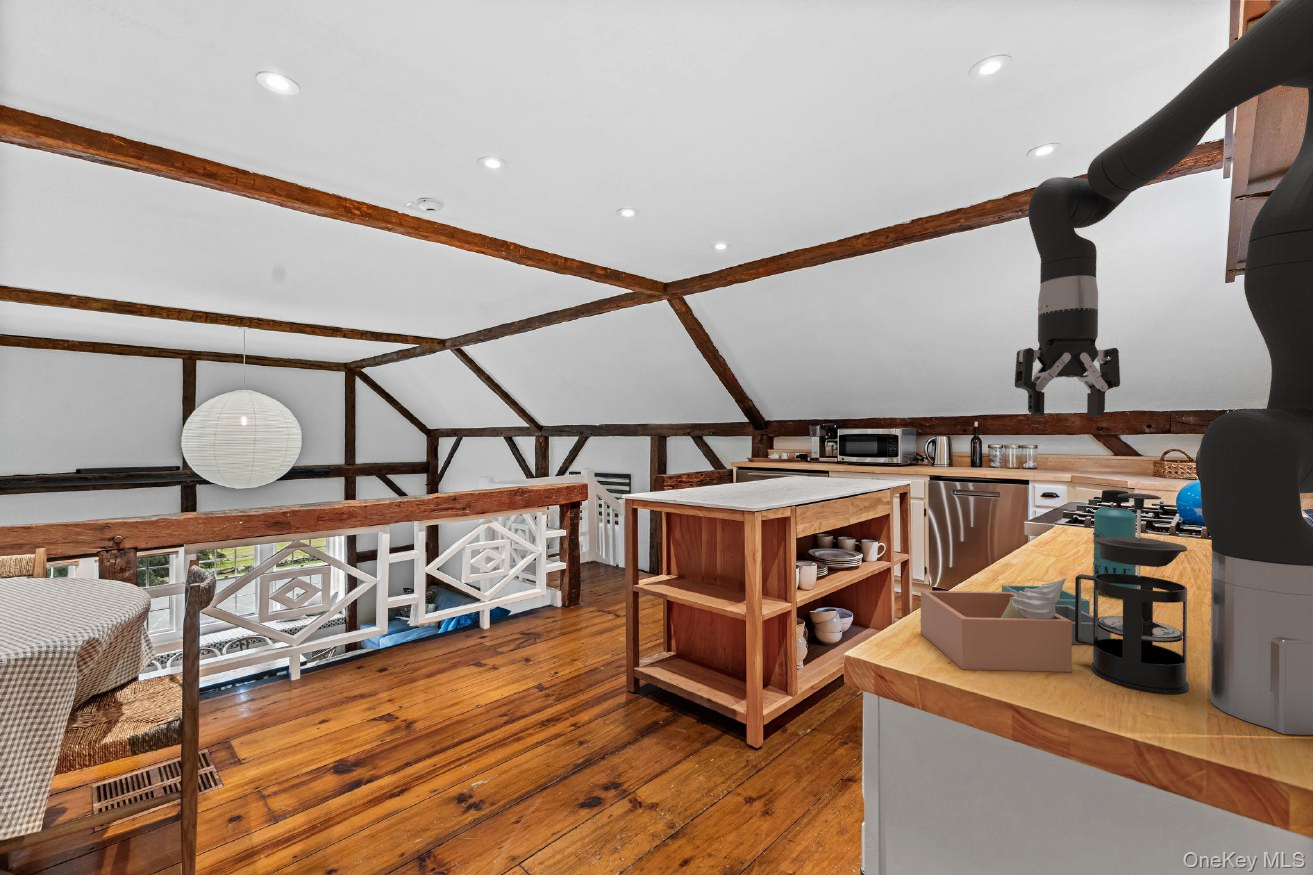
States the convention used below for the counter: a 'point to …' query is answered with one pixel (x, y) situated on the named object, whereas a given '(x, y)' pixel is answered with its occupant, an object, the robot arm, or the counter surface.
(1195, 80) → the robot arm
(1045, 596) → the ice cream cone
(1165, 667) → the french press
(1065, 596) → the crate
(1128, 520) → the beverage bottle
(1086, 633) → the frame
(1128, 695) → the counter surface
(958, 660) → the bin
